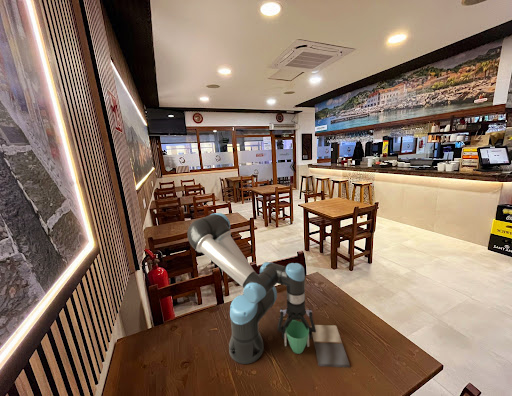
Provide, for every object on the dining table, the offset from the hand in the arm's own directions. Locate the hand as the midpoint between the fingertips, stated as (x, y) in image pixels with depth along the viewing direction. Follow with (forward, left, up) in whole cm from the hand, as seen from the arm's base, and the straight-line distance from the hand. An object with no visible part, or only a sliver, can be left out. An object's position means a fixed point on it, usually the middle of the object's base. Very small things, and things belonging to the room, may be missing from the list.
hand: (296, 343), depth 99 cm
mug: (0, 0, 0) cm, 1 cm away
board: (+14, 0, 0) cm, 14 cm away
